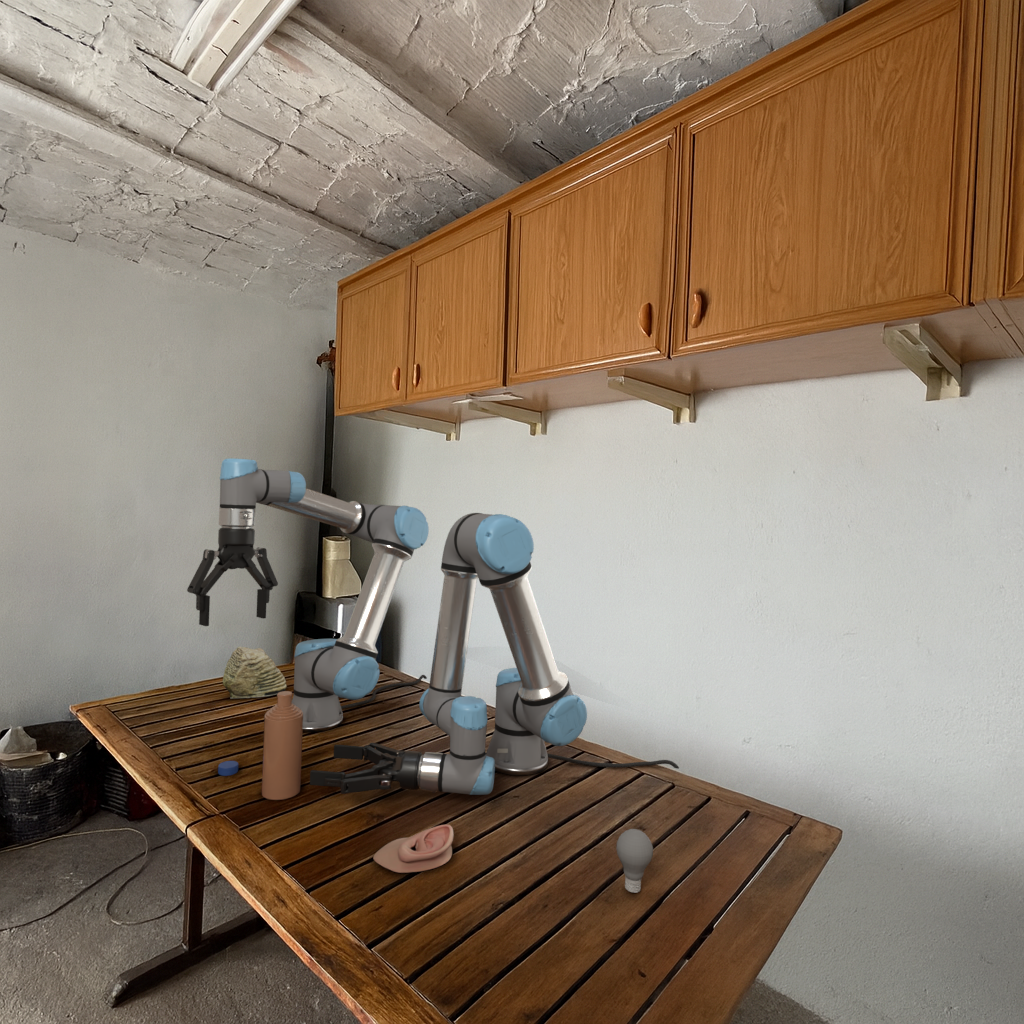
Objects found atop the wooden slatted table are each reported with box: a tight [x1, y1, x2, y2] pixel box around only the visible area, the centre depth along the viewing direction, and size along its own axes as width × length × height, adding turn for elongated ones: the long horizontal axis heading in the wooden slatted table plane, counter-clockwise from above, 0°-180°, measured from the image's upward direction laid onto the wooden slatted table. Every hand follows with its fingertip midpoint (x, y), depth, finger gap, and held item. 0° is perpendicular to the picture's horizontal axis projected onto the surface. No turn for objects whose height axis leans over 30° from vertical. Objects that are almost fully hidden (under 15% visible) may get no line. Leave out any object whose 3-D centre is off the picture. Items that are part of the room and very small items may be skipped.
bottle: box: [261, 690, 304, 801], centre depth 135 cm, size 8×8×21 cm
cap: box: [217, 760, 239, 777], centre depth 144 cm, size 4×4×2 cm
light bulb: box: [615, 828, 654, 894], centre depth 106 cm, size 6×6×10 cm
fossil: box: [222, 646, 288, 699], centre depth 198 cm, size 9×18×15 cm, turn 132°
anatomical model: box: [372, 824, 455, 874], centre depth 113 cm, size 13×4×12 cm
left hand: (233, 621), depth 143 cm, fingers open, 13 cm apart
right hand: (322, 763), depth 135 cm, fingers open, 13 cm apart
